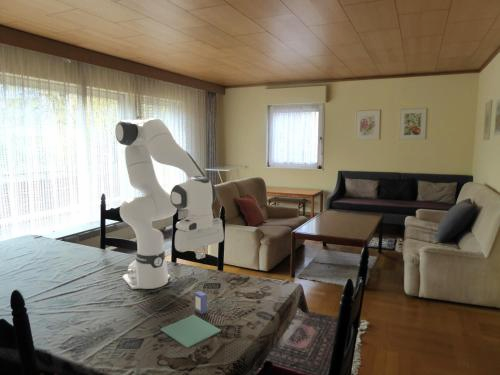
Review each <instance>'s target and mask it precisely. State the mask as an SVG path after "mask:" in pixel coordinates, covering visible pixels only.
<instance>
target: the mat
mask: <svg viewBox="0 0 500 375" xmlns="http://www.w3.org/2000/svg"><path fill="white" fill-rule="evenodd" d="M159 330H160V331H161V332H163V333H164V334H166V335H167V336H168V337H170V338H172V339H173V340H175V341H176V342H178V343H179V344H180V345H181V346H183V347H185V348H186V349H189V348H191V347H193V346H195V345H197V344H198V343H201V342H203V341H205V340H206V339H209V338H211V337H213V336H215V335H217V334H219V333H220V332H222V330H221V329H220V328H218V327H217V326H215V325H213V324H211V323H210V322H208V321H206V320H204V319H202V318H200V317H198V316H197V315H195V314H192V315H189V316H187V317H184V318H182V319H180V320H178V321H176V322H174V323H171V324H169V325H166V326H164V327H162V328H160V329H159Z"/></svg>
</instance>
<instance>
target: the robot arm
mask: <svg viewBox="0 0 500 375" xmlns="http://www.w3.org/2000/svg"><path fill="white" fill-rule="evenodd" d="M115 126H116V127H115V130H114V131H115V138H116V141H117V142H118V143H119V144H120V145H123V146H125V148H124V149H125V150H124V155H125V157H124V159H125V165H126V169H127V173H128V174H127V175H128V179H129V183H130V186H132V188H133V189H135V190H138V191H140V192H141V193H142V194H143V195H144V196H139V197H138V196H137V197H132V198H129V199H126V200H124V201H122V203H121V205H120V207H119V215H120V218H121V220H122V221H123V222H124V223H126V224H128V225H129V226H130V227H131V228H132V229H133V231H134V233H135V236H136V244H137V251H135V252H134V254H135V260H134V261H132V262H131V263H130V264H129V265H128V267H127V268H128V269H126V270H127V271H126V272H127V273H125V274H123V275H122V279H123V281H124V282H125V283H126V284H127V285H128V286H129V287H130V289H132V290H136V289H144V290H145V289H147V290H149V289H157V288H160V287H163V286H165V285H167V284H168V282H169V279H171V275H170V274H169V272H168V271H169V270H168V263H167V260H166V259H165V258H166V252H165V250H164V248H165V247H164V245H165V244H164V234H163V232H161V230H159V229H157V228H154V227H153V222H156V221H159V220H165V219H168V218H170V217H172V216H174V215H175V214H176V213H177V210H187V211H188V212H187V216H185V217H184V218H182V219H180V220H179V221H177V222H176V224H175V228H176V229H177V230H176V231H175V234H174V248H175V251H178V252H180V253H184V252H187V251H192V250H193V252H194V253H195V258H196V259H197V260H200V259H204V258H206V253H207V250H208V249H209V246H210V245H215V244H218V243H222V242H223V241H224V238H225V236H224V233H225V232H224V227H223V220H222V219H221V218H220V217H215V218H214V216H213V214H214V212H213V209H212V207H213V206H212V205H213V204H214V203H215V201H216V199H217V196H218V194H217V193H218V192H217V191H218V190H217V188H216V187H215V185H214V183H213V182H211V179H209V177H207V176H206V175H205V174H204V172H203V171H202V169H201V168H200V167H199V165H198V164H197V162H196V161H195V160H194V158H193V157H192V156H191V154H190V153H188V152H187V151H186V150H184V149H183V148H182V147H181V146H180V144H178V143H177V142H176V139H175V138H174V137H173V134H172V133H171V131H170V129H169V128H168V127H167V125H166V124H165V122H164V121H162V120H161V119H160V118H157V117H152V118H148V119H123V120H120V121H119V122H118V123H117V124H116V125H115ZM152 159H153V160H154V162H155V161H156V162H157V163H159V164H161V165H166V166H169V167H170V166H171V167H175V168H177V169H180V170H181V171H183V172H184V173H185V175H186V176H187V178H188V180H187V181H185V182H182V183H179V184H175V185H173V187H172V188H171V191H170V193H168V192H167V191H166V190H165V189H164V188H163V187H162V186H161V184H160V182H159V180H158V178H157V175H156V171H155V168H154V164H153V160H152ZM200 250H201V251H200Z"/></svg>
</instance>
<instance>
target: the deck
mask: <svg viewBox="0 0 500 375" xmlns="http://www.w3.org/2000/svg"><path fill="white" fill-rule="evenodd" d="M207 298H208V296H207V293H205V292H203V291H201V290H198V291H196V292H194V311H195V312H196V313H198V314H200V315H202V314H205V313H207V312H208V310H207V309H208V308H207V307H208V303H207V302H208V300H207Z"/></svg>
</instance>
